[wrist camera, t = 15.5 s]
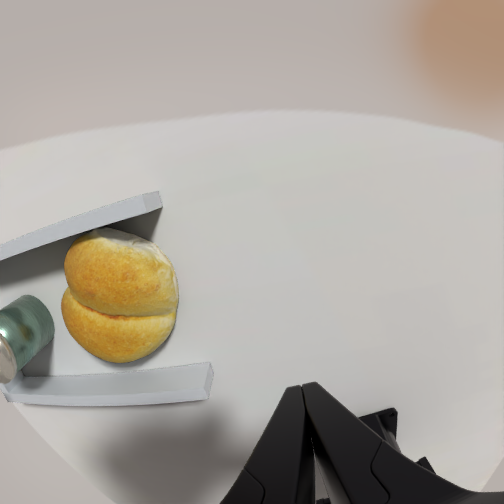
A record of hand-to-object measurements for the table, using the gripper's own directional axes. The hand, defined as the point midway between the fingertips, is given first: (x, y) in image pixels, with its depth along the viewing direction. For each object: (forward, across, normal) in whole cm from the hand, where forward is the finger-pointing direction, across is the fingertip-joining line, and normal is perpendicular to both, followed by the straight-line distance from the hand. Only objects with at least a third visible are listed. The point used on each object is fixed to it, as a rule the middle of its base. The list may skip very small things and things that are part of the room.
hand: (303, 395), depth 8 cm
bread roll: (+12, +11, -1) cm, 16 cm away
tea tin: (+12, +20, 0) cm, 23 cm away
